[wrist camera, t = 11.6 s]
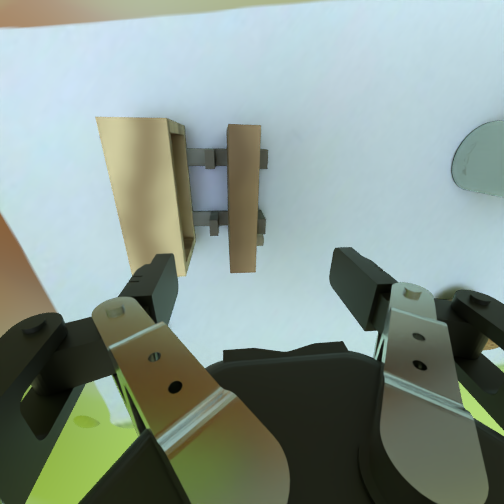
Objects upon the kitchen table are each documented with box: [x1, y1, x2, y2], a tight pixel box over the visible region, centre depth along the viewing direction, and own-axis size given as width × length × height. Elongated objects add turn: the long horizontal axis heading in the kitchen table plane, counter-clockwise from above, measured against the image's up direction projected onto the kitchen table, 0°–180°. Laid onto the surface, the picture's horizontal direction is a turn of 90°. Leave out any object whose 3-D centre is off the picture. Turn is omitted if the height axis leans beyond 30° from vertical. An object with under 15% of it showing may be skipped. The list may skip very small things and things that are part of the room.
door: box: [227, 124, 264, 273], centre depth 27 cm, size 4×13×12 cm, turn 179°
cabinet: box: [96, 117, 268, 277], centre depth 27 cm, size 15×15×10 cm
